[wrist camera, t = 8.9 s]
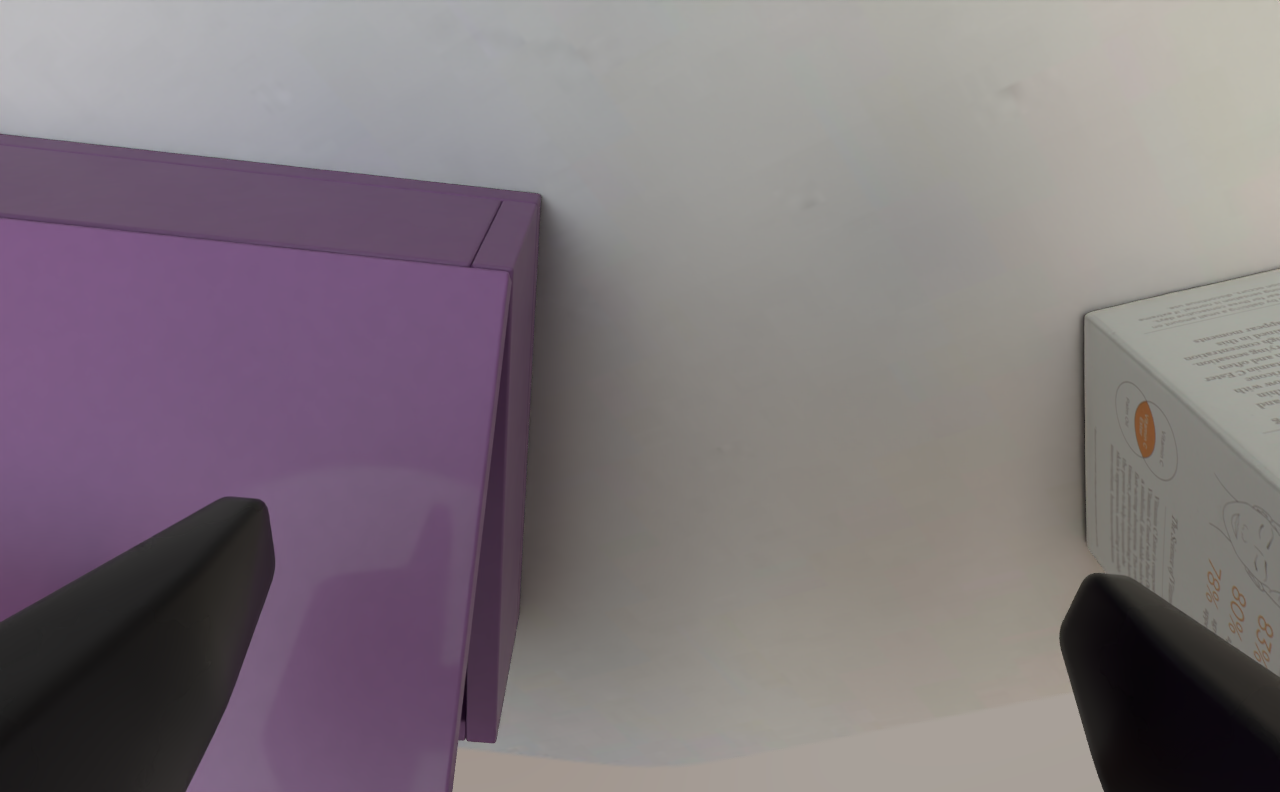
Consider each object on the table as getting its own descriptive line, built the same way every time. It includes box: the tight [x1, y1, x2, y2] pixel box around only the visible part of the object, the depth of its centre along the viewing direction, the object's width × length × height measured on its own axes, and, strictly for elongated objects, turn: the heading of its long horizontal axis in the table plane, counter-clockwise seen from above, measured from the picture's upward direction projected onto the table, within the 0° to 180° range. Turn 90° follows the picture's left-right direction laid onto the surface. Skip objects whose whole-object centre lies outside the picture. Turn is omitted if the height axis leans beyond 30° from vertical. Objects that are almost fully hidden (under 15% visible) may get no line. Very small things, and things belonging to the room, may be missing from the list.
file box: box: [0, 134, 541, 743], centre depth 21 cm, size 14×17×5 cm
